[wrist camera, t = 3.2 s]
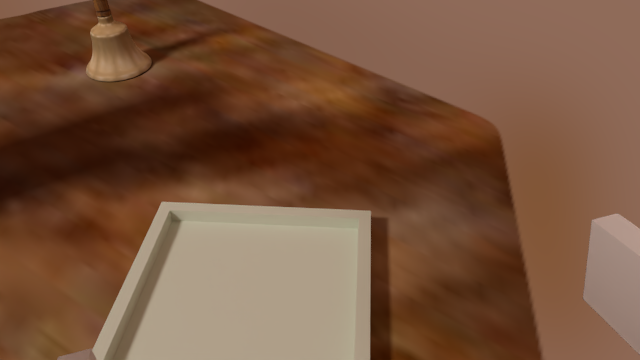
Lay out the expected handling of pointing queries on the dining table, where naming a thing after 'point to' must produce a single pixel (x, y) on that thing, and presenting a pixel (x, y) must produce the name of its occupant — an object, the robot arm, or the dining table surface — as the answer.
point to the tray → (245, 286)
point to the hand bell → (114, 49)
